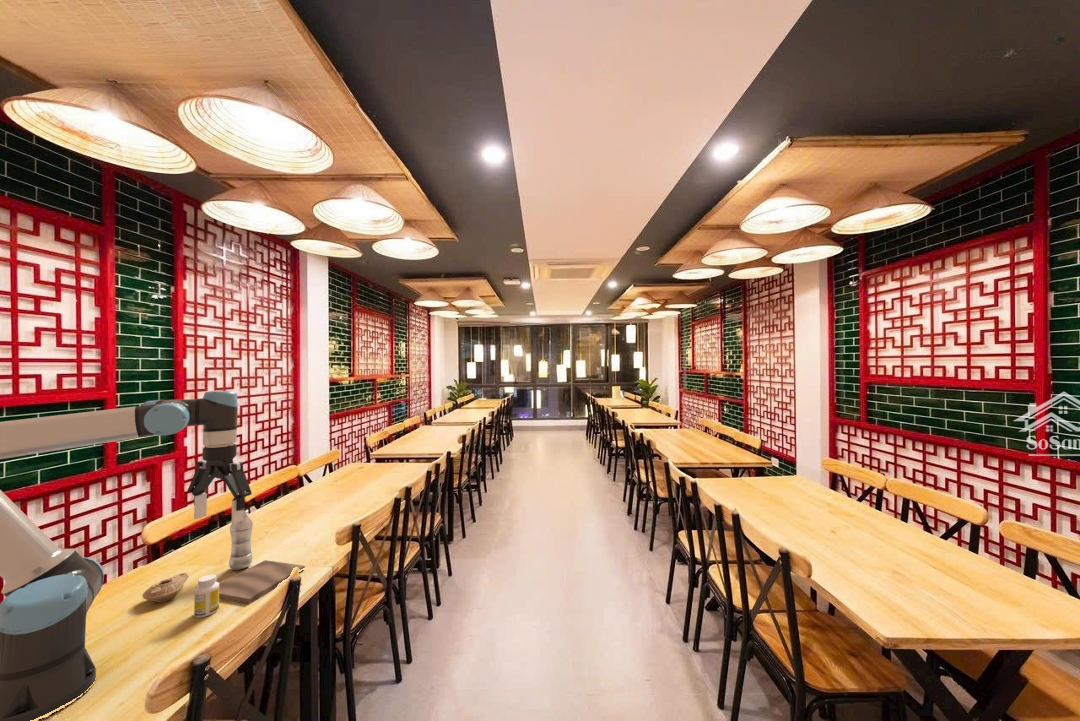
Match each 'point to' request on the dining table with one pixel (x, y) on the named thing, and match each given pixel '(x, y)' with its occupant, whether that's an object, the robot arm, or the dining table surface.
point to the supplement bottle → (206, 596)
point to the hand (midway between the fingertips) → (218, 519)
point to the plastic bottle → (241, 543)
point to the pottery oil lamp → (165, 588)
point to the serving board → (255, 581)
